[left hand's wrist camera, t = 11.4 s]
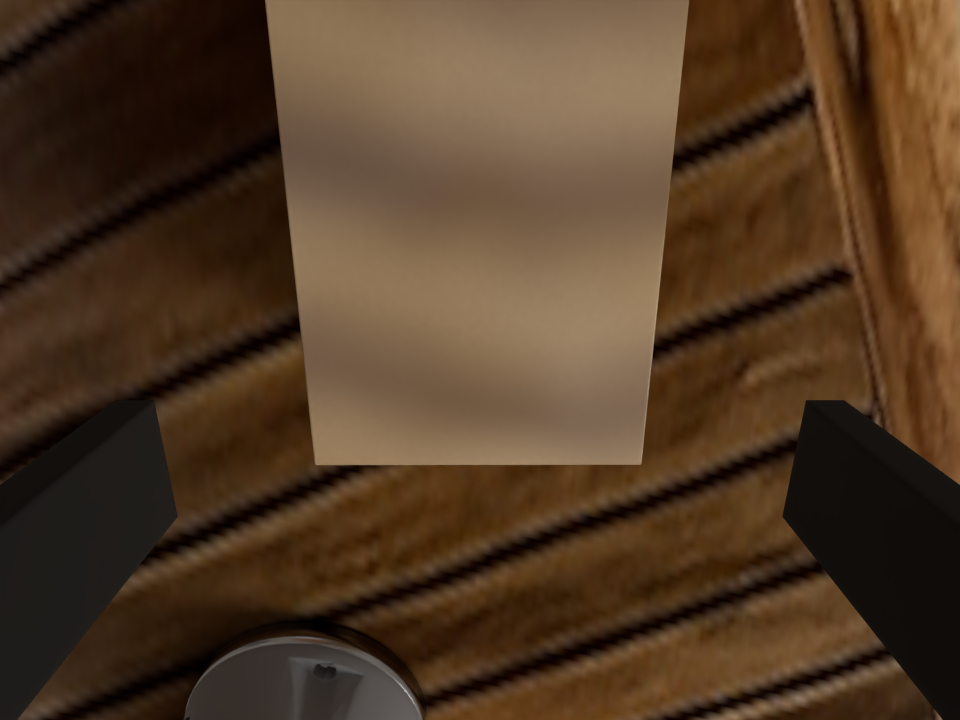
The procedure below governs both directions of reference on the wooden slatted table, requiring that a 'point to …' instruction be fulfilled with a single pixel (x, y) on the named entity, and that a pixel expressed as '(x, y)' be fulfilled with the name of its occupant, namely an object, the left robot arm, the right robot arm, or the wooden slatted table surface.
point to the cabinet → (477, 222)
